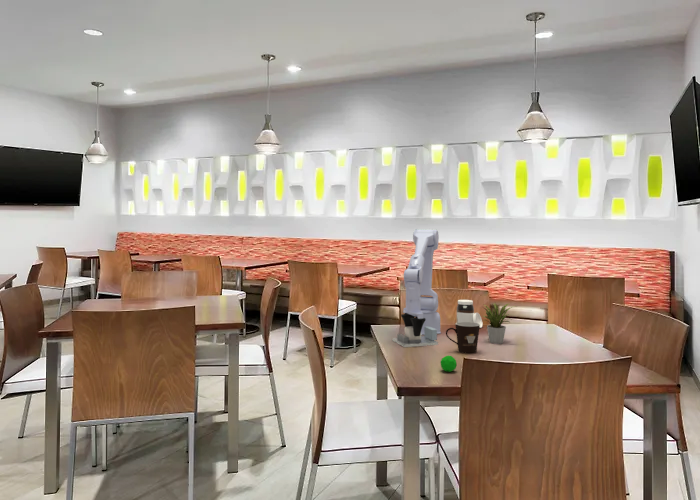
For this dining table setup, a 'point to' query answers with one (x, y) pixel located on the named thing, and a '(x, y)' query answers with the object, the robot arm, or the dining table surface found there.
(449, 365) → the polyhedron
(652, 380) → the dining table surface
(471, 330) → the coffee mug
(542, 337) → the dining table surface
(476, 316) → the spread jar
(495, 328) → the house plant
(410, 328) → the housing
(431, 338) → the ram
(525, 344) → the dining table surface
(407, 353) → the dining table surface
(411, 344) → the press frame
